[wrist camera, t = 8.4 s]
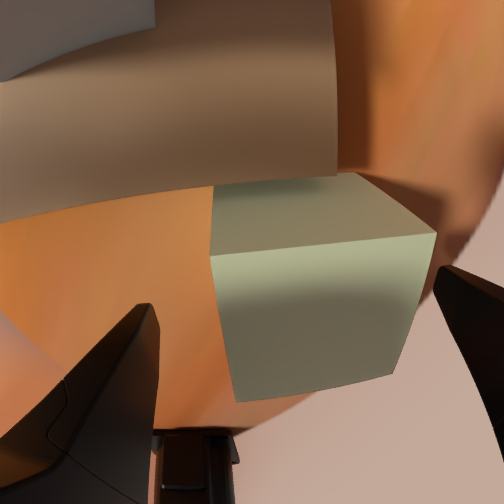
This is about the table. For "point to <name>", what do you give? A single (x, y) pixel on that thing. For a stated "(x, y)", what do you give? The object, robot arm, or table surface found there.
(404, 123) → the table surface
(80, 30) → the slate block
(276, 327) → the sage block
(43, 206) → the walnut base
